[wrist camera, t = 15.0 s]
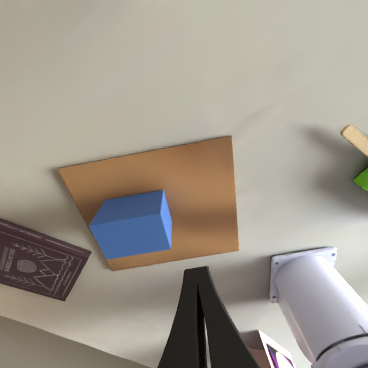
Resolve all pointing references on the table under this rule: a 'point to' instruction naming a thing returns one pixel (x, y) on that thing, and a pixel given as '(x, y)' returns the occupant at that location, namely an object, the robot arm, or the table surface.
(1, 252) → the chocolate bar
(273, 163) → the table surface
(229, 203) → the cork mat
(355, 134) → the popsicle
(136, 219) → the blue block
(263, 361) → the greeting card
